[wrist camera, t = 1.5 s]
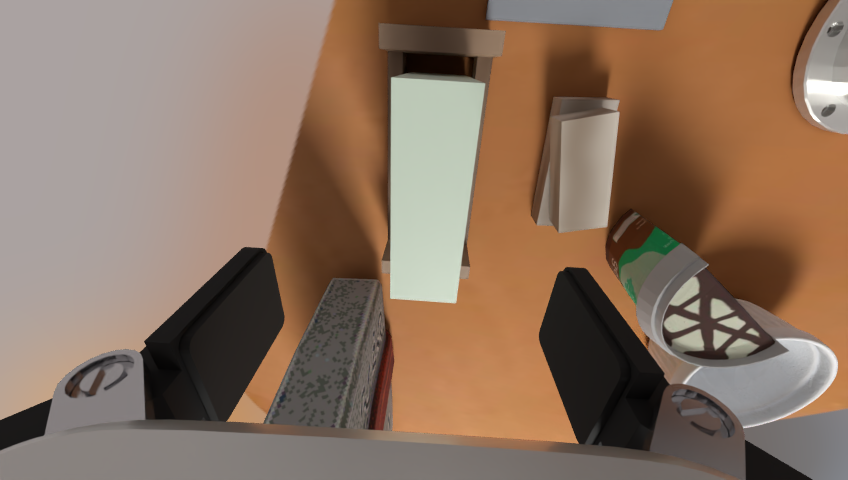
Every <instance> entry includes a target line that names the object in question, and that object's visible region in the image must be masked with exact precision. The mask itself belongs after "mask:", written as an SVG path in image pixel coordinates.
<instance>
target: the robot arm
mask: <svg viewBox="0 0 848 480" xmlns="http://www.w3.org/2000/svg"><path fill="white" fill-rule="evenodd" d="M793 95H794V100H795V104H796V106H797V108H798V110H799V112H800V113H801V115H802V117H804V118H805V119H806V120H807V121H808V122H809V123H810V124H811V125H813V126H816V127H818V128H820V129H822V130H825V131H831V132H836V133H841V134H848V0H829V1H828V2H827V3H826V5H825V6H824V7H823V8H822V10H821V11H820V12H819V14H818V16H817V17H816V19H815V21H814V22H813V24H812V26H811V28H810V29H809V31H808V33H807V34H806V36H805V39H804V41H803V44H802V46H801V48H800V51H799V53H798V56H797V60H796V64H795V68H794V73H793ZM283 324H284V312H283V307H282V302H281V298H280V293H279V288H278V283H277V279H276V274H275V269H274V264H273V260H272V256H271V254H270V253H267V252H266V250H265V249H263V248H251V247H244V248H243V249H241V250H240V251H239V252H238V253H237V254H236V255H235V256H234V257H233V258H232V259H231V260H230V261H229V262H228V263H227V264H225V266H223V267H222V268H221V269H220V270H219V271H218V272H217V273H216V274H215V275H214V276H213V277H212V278H211V279H210V280H209V281H207V282H206V283H205V284H204V285H203V286H202V287H201V288H200V289H199V290H198V291H197V292H196V293H195V294H194V295H193V296H192V297H191V298H190V299H188V301H186V302H185V303H184V304H183V305H182V306H181V307H180V308H179V309H178V310H177V311H176V312H175V313H174V314H173V315H172V316H171V317H170V318H169V319H167V320H166V321H165V322H164V323H163V324H162V325H161V326H160V327H159V328H158V329H157V330H156V331H155V332H154V333H153V334H151V335H150V336H149V337H148V338H147V339H146V340H145V341H144V342H145V344H146V347H145V348H144V349H143V350H142V351H141V352H140V353H139V352H137V351H135V350H129V349H124V350H115V351H111V352H108V353H104V354H101V355H99V356H97V357H94V358H92V359H90V360H88V361H86V362H84V363H82V364H81V365H79V366H77V367H76V368H75V369H73V370H72V371H71V372H69V373H68V374H67V375H66V376H65V377H64V378H63V379H62V380H61V381H60V382H59V383H58V385H57V387H56V389H55V391H54V395H53V398H52V399H50V400H48V401H45V402H43V403H40V404H38V405H35V406H33V407H31V408H29V409H26V410H24V411H21V412H19V413H16V414H14V415H12V416H9V417H7V418H4V419H2V420H0V480H812V479H811V478H809V477H807V476H806V475H804V474H802V473H800V472H799V471H797V470H795V469H793V468H792V467H790V466H789V465H787V464H785V463H784V462H781V461H780V460H778V459H777V458H775V457H773V456H772V455H770V454H768V453H766V452H765V451H763V450H762V449H760V448H758V447H756V446H754V445H753V444H751V443H750V442H748V441H746V440H745V434H744V430H743V426H742V425H741V423H740V421H739V420H738V418H737V417H736V415H735V414H734V413H733V412H732V411H731V410H730V409H729V408H728V407H727V406H726V405H724V404H723V403H722V402H721V401H719V400H718V399H717V398H715V397H714V396H712V395H710V394H709V393H707V392H705V391H703V390H701V389H698V388H696V387H694V386H690V385H686V384H671V385H670V384H669V383H668V381H667V380H666V379H665V377H664V375H665V373H664V372H663V370H662V369H661V368H660V366H659V365H658V364H657V362H656V361H655V360H654V358H653V357H652V356H651V354H650V353H649V352H648V350H647V349H646V348H645V346H644V345H643V344H642V342H641V341H640V340H639V338H638V337H637V336H636V334H635V333H634V332H633V330H632V329H631V328H630V326H629V325H628V324H627V322H626V321H625V320H624V318H623V317H622V316H621V314H620V313H619V312H618V310H617V309H616V308H615V306H614V305H613V304H612V302H611V301H610V300H609V298H608V297H607V296H606V294H605V293H604V292H603V290H602V289H601V288H600V286H599V285H598V284H597V282H596V281H595V280H594V278H593V277H592V276H591V274H590V273H589V272H588V270H587V269H585V268H573V267H566V268H565V269H564V270H563V271H560V272H559V273H558V275H557V278H556V281H555V284H554V287H553V290H552V294H551V297H550V300H549V303H548V306H547V309H546V313H545V316H544V319H543V322H542V325H541V328H540V332H539V341H540V344H541V347H542V349H543V352H544V355H545V357H546V360H547V363H548V365H549V368H550V370H551V373H552V376H553V378H554V381H555V384H556V386H557V389H558V391H559V394H560V397H561V399H562V402H563V405H564V407H565V410H566V412H567V415H568V418H569V420H570V423H571V425H572V428H573V431H574V433H575V436H576V439H577V441H578V442H579V444H575V443H563V442H551V441H536V440H521V439H506V438H491V437H476V436H462V435H446V434H430V433H414V432H398V431H382V430H365V429H349V428H332V427H315V426H297V425H279V424H259V423H243V422H226V421H227V420H228V419H229V417H230V415H231V414H232V412H233V410H234V409H235V407H236V405H237V404H238V402H239V400H240V398H241V397H242V395H243V393H244V392H245V390H246V388H247V386H248V385H249V383H250V381H251V380H252V378H253V376H254V374H255V373H256V371H257V369H258V368H259V366H260V364H261V362H262V361H263V359H264V357H265V356H266V354H267V352H268V351H269V349H270V347H271V345H272V344H273V342H274V340H275V339H276V337H277V335H278V333H279V332H280V330H281V328H282V326H283Z"/></svg>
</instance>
